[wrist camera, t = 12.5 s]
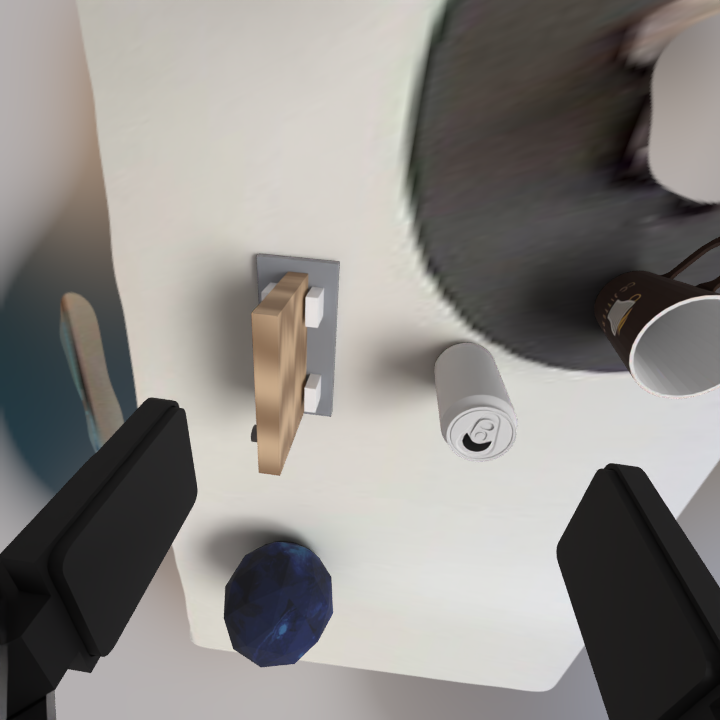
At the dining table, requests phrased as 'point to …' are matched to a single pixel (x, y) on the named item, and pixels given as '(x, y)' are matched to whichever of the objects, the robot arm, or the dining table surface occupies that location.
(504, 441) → the beverage can
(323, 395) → the hinge base
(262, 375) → the door panel
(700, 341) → the coffee mug
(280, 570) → the decorative orb
